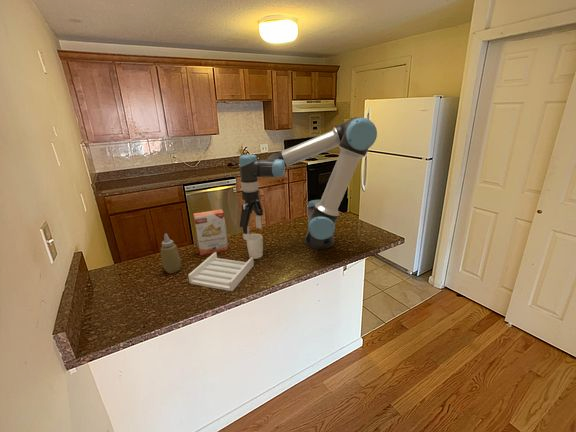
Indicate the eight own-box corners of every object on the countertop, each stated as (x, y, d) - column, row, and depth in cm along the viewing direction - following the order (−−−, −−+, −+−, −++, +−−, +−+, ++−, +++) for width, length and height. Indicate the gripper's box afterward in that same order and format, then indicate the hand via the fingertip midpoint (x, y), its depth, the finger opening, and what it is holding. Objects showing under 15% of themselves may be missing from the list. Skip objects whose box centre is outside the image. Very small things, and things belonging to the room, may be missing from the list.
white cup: (265, 251, 139) (263, 233, 136) (262, 259, 132) (260, 240, 129) (249, 251, 140) (248, 233, 137) (246, 259, 133) (244, 240, 129)
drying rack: (253, 265, 127) (253, 257, 126) (232, 291, 110) (231, 282, 108) (215, 260, 133) (214, 252, 132) (189, 283, 116) (188, 274, 114)
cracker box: (200, 256, 137) (193, 217, 130) (199, 251, 143) (192, 212, 135) (228, 250, 142) (223, 212, 135) (226, 245, 147) (221, 208, 140)
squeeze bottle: (186, 266, 129) (179, 231, 122) (174, 276, 121) (166, 239, 115) (172, 264, 131) (164, 229, 125) (159, 273, 124) (151, 237, 118)
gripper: (254, 182, 137) (256, 222, 144) (228, 197, 114) (233, 243, 122) (268, 183, 134) (270, 224, 142) (245, 198, 112) (248, 246, 120)
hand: (253, 233), depth 132 cm, fingers open, 13 cm apart
